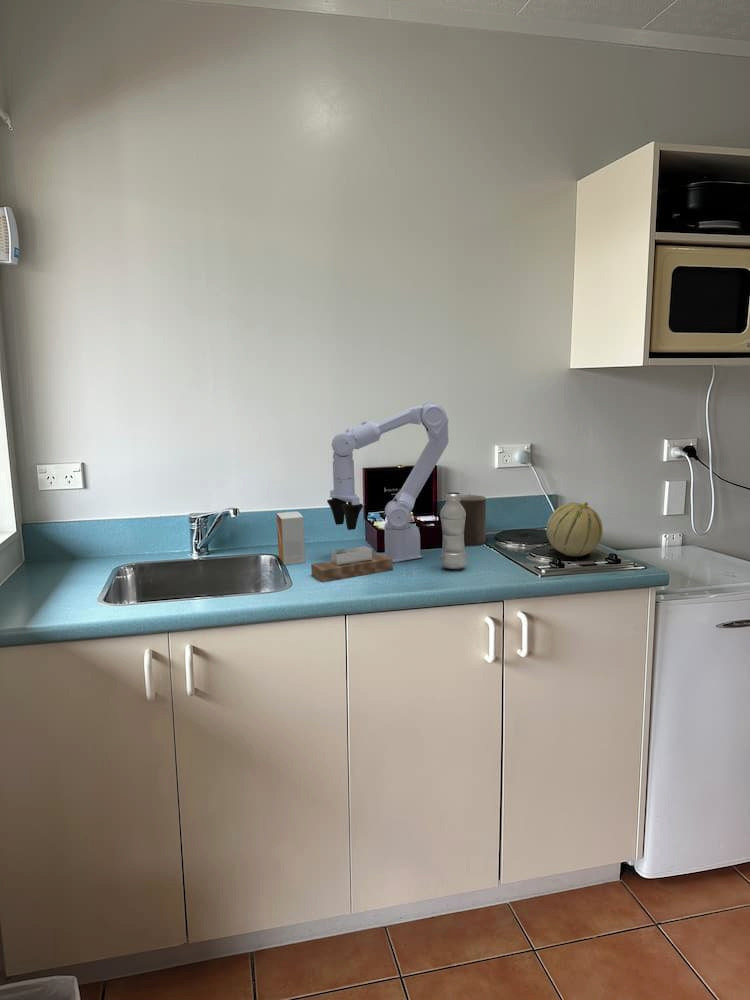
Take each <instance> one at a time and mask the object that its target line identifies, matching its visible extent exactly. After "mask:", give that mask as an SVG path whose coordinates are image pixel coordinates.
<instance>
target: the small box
mask: <svg viewBox="0 0 750 1000" xmlns="http://www.w3.org/2000/svg"><path fill="white" fill-rule="evenodd" d="M304 520H305V518H304V516H303V515H302V513H301V512H299V511H286V512H277V513H276V525H277V526H276V530H277V546H278V547H277V549H278V550H277V551H278V558H279V559H280V561H281V563H282V564H283V565H284V566H286V565H288V566H289V565H294V564H295V565H297V564H304V563H306V562H307V560H306V542H305V541H306V539H305V537H306V536H305V521H304Z"/></svg>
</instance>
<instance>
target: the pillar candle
mask: <svg viewBox="0 0 750 1000" xmlns="http://www.w3.org/2000/svg"><path fill="white" fill-rule="evenodd" d="M460 498H461V500H460V504H461V505H462V506H463V508H464V509H465V512H466V517H465V525H464V546H468V547H469V546H471V547H474V546H481V545H485V544H486V518H487V517H486V515H487V513H486V512H487V509H486V508H487V498H486V496H484V495H476V494H475V495H474V494H470V492H469V493H468V495H467V494H460Z"/></svg>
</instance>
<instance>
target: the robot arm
mask: <svg viewBox="0 0 750 1000" xmlns="http://www.w3.org/2000/svg"><path fill="white" fill-rule="evenodd" d="M408 424H411V425H413V424H414V425H423V427H424V429H425V432H426V435H427V438H428V441H427V443H426V445H425V447H424V448H423V451H422V452H421V453H420V456H419V457H418V459H417V461H416V463H415V464H414V466H413V468H412V470H411V471H410V474H409V475H408V477H407V478H406V480H405V482H404V483H403V485H402V487H401V489H400V490H398V492H397V493H396V495H395V496H394V498H393V499H392V500H390V501H388V502H387V503H386V505H385V507H384V515H385V517H386V520H387V521H386V523H385V524H384V526H383V527H384V553H382V554H383V555H385V556H388V557H390V558H392V559H393V563H399V562H405V561H411V560H415V559H416V560H417V559H421V558H422V557H423V556H422V555H421V534H420V529H419V527H418V526H417V525H415V524H411V523H410V521H411V513H412V511H413V509H414V507H415V503H416V499H417V498H418V496H419V494H420V493H421V491H422V489H423V487H424V486H425V485H426V483H427V481H428V479H429V477H430V475H431V474H432V472H433V470H434V469H435V467H436V466H437V463H438V461H439V460H440V458H441V457H442V455H443V453H444V451H445V450H446V448H447V446H448V444H449V418H448V416H447V413H446V411H445V409H444V407H442V405H439V404H438V403H437V404H436V403H435V402H425V403H424V404H422V405H420V404H419V405H416V406H415V405H414V406H413V407H410V408H409V407H408V408H407V409H404V410H402V411H400V412H398V413H396V414H394V415H391V416H390V417H388V418H385V419H383V420H381V421H379V422H375V421H372V420H369V421H367V420H363V421H361V424H360V425H357V426H355V427H352V428H351V429H350V428H346V429H345V432H340V433H337V434H335V435H334V437H333V438H332V442H331V447H332V450H333V453H332V459H333V460H332V472H333V473H332V478H333V479H332V481H333V489H331V490H330V491H329V493H330V494H329V498H330V499H327V504H328V505H329V507H330V510H331V513H332V515H333V520H334V523H335V525H336V526H337V525H339V526H341V525H344V522H345V525H346V529H347V531H351V530H356V528H357V524H358V518H359V515H360V513H361V511H362V509H363V507H364V505H363V503H361V502H360V500H361V499H360V496H358V495H357V493H356V492H355V490H356V488H355V487H356V486H355V485H356V484H355V462H354V459H353V458H354V457H353V456H354V455H353V452H354V450H359V449H361V448H364V447H367V446H370V445H371V444H374V443H376V442H379V441H380V439H381V435H383V434H385V433H388V432H390V431H392V430H395V429H399V428H401V427H402V426H406V425H408Z"/></svg>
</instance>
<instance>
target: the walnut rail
mask: <svg viewBox="0 0 750 1000" xmlns="http://www.w3.org/2000/svg"><path fill="white" fill-rule="evenodd" d="M383 554H384V553H382V552H378V553H372V560H371V561H368V562H362V563H360V562H358V563H352V564H347V565H344V566H336V565H335V564H333V563H331V560H328V561H322V562H315V563H311V564H310V566H311V576H312V577H313V578H315V579H317V580H319V581H320V582H322V583H326V582H325V581H327V582H332V581H338V580H344V579H348V578H354V577H360V576H365V575H372V574H377V573H383V572H389V571H393V570H394V566H393V565H394V562H393V559H392V558H390V557H388V556H385V555H383ZM343 578H344V579H343Z"/></svg>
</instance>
